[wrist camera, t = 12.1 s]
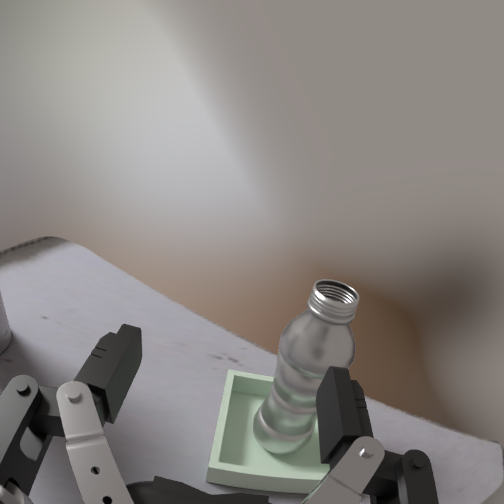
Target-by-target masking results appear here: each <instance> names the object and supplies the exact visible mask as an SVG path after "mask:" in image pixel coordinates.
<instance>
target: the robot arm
mask: <svg viewBox="0 0 504 504" xmlns="http://www.w3.org/2000/svg"><path fill="white" fill-rule="evenodd" d="M11 338H12V333H11V330H10V326H9V323H8V319H7V316H6V312H5V308H4V304H3V300H2V296H1V292H0V354H1V353H2V352H3V351H4V350H5V349H6V348H7V347H8V346H9V344H10V342H11ZM141 359H142V338H141V329H140V328H138V327H134V326H131V325H127V324H123V325H122V326H121V328H120V329H119V331H118V332H117V334H115V333H112V332H109V333H108V334H106V335H105V336H103V337H102V338H101V339H100V340H99V342H98V343H97V345H96V346H95V348H94V349H93V351H92V352H91V355H90V356H89V357H88V359H87V360H86V362H85V363H84V365H83V367H82V368H81V370H80V371H79V373H78V375H77V376H76V378H75V379H74V380H73V381H69V382H66V383H64V384H62V385H61V386H60V387H59V388H54V387H45V386H38V384H37V382H36V380H35V379H34V378H33V377H31V376H29V375H18V376H16V377H14V378H13V379H11V380H10V382H9V383H8V385H7V386H6V388H5V389H4V391H3V393H2V394H1V396H0V504H33V502H32V500H31V499H30V498H29V497H28V496H29V493H30V491H31V488H32V485H33V483H34V480H35V478H36V475H37V473H38V470H39V468H40V465H41V463H42V461H43V458H44V456H45V454H46V451H47V449H48V447H49V444H50V442H51V440H52V438H53V436H61V437H66V441H65V444H66V449H67V452H68V456H69V459H70V462H71V466H72V469H73V472H74V475H75V478H76V481H77V484H78V487H79V490H80V493H81V495H82V498H83V501H84V503H85V504H272V503H269V502H268V498H269V496H262V495H252V494H244V493H236V494H220V495H211V494H207V493H205V492H202V491H200V490H198V489H195V488H193V487H191V486H189V485H187V484H184V483H182V482H178V481H174V480H170V479H166V478H162V477H158V476H155V477H154V480H153V481H144V482H136V483H132V484H129V485H126V486H125V483H124V481H123V479H122V477H121V474H120V472H119V470H118V467H117V465H116V462H115V460H114V457H113V455H112V452H111V450H110V447H109V445H108V442H107V439H106V437H105V434H104V431H103V429H102V428H103V426H104V424H105V421H106V422H109V423H112V424H114V421H115V419H116V417H117V415H118V412H119V410H120V408H121V406H122V403H123V401H124V399H125V397H126V395H127V392H128V390H129V388H130V386H131V384H132V382H133V379H134V377H135V375H136V373H137V371H138V369H139V366H140V363H141ZM316 409H317V421H318V433H319V446H320V460H321V464H329V465H330V470H329V471H328V472H327V474H326V475H325V476H324V477H323V478H322V480H321V481H320V482H319V483H318V484H317V486H316V487H315V488H314V489H313V490H312V491H311V492H310V494H309V495H308V496H307V497H306V498H305V499H304V500H303V501H302V502H301V503H300V504H358V503H359V501H360V500H361V498H362V495H361V493H364V494H368V495H370V502H371V504H439V502H438V497H437V491H436V486H435V481H434V476H433V472H432V467H431V463H430V460H429V458H428V456H427V455H426V454H425V453H424V452H422V451H420V450H409V451H407V452H406V453H405V454H404V455H400V454H397V453H393V452H389V451H386V450H384V448H383V446H382V444H381V443H380V442H379V441H378V440H376V439H375V438H374V437H373V433H372V428H371V423H370V419H369V414H368V410H367V405H366V401H365V397H364V393H363V389H362V388H361V386H360V385H359V383H358V382H357V381H356V380H350V375H349V370H348V368H345V367H336V366H330V367H329V368H328V370H327V372H326V374H325V376H324V378H323V380H322V382H321V384H320V386H319V388H318V390H317V394H316Z"/></svg>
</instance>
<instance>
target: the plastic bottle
mask: <svg viewBox="0 0 504 504" xmlns="http://www.w3.org/2000/svg"><path fill="white" fill-rule="evenodd" d="M358 302H359V295H358V293H357V292H356V291H355V290H354V289H353V288H352V287H350V286H348V285H346V284H344V283H342V282H339V281H335V280H330V279H322V280H318V281H316V282H315V284H314V286H313V290H312V293H311V296H310V297H309V299H308V302H307V308H308V310H306V311H304V312H303V313H301V314H299V315H298V316H297V317H296V318H294V319H293V320H291V321H290V322H289V324H288V325H287V326H286V328H285V329H284V330H283V332H282V335H281V339H280V343H279V351H278V358H277V366H276V371H275V375H274V379H273V382H272V386H271V388H270V390H269V392H268V394H267V396H266V398H265V400H264V402H263V403H262V404H261V406H260V407H259V409H258V410H257V412H256V414H255V416H254V419H253V434H254V437H255V439H256V440H257V442H258V443H259V444H260V445H261V446H262V447H263V448H265V449H266V450H268V451H270V452H272V453H275V454H282V455H286V454H292V453H295V452H298V451H299V450H301V449H302V448H303V447H304V446H305V445H306V444H307V443H308V442H309V441H310V439H311V437H312V435H313V432H314V429H315V424H316V420H317V409H316V394H317V390H318V388H319V386H320V384H321V382H322V380H323V378H324V376H325V374H326V372H327V370H328V368H329V367H330V366H336V367H345V368H348V369H349V367H350V365H351V364H352V362H353V360H354V357H355V340H354V336H353V333H352V330H351V327H350V325H349V323H351V322H352V321H353V319H354V317H355V310H356V308H357V305H358Z"/></svg>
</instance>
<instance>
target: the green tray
mask: <svg viewBox="0 0 504 504" xmlns="http://www.w3.org/2000/svg"><path fill="white" fill-rule="evenodd" d="M273 379H274V377H269V376H263V375H257V374H251V373H246V372H240V371H235V370H230V369H228V374H227V379H226V384H225V389H224V393H223V398H222V403H221V408H220V413H219V418H218V423H217V427H216V432H215V437H214V442H213V447H212V452H211V457H210V461H209V466H208V472H207V477H206V482H211V483H216V484H221V485H227V486H234V487H240V488H247V489H255V490H264V491H274V492H287V493H304V494H310V492H311V491H312V490H313V489H314V488H315V487H316V486H317V484H318V483H319V482H320V481H321V480H322V478H323V477H324V476H325V475H326V474H327V472H328V471H329V470H330V465H329V464H321V460H320V446H319V433H318V421H317V420H316V424H315V429H314V432H313V435H312V437H311V439H310V441H309V442H308V443H307V444H306V445H305V446H304V447H303V448H302V449H301V450H299V451H298V452H295V453H292V454H286V455H282V454H275V453H272V452H270V451H268V450H266V449H265V448H263V447H262V446H261V445H260V444H259V443H258V442H257V440H256V439H255V437H254V434H253V419H254V416H255V414H256V412H257V410H258V409H259V407H260V406H261V404H262V403H263V402H264V400H265V398H266V396H267V394H268V392H269V390H270V388H271V386H272V382H273Z"/></svg>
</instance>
